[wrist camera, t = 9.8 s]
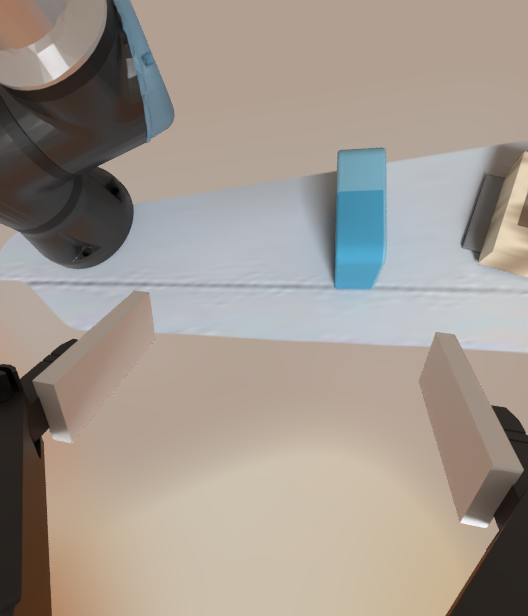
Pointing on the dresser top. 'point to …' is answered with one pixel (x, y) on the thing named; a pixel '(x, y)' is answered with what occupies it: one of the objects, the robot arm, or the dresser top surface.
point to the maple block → (510, 224)
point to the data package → (360, 218)
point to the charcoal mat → (483, 213)
